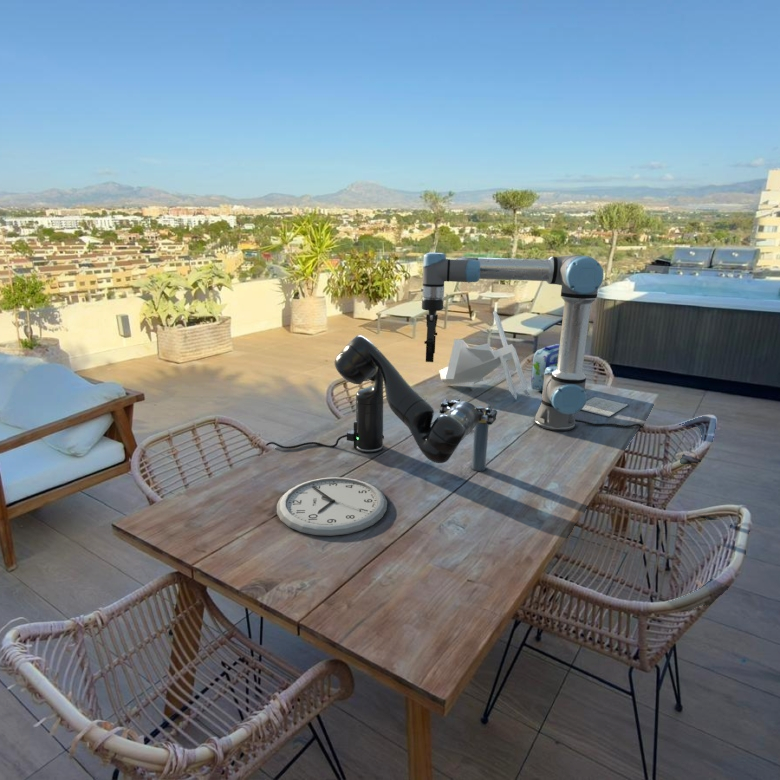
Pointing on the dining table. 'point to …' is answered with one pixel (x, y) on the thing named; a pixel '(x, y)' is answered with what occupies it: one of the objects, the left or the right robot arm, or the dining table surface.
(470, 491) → the dining table surface
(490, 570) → the dining table surface
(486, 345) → the white plastic object
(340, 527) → the wall clock
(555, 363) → the lunch box
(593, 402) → the invitation card
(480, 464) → the clear plastic cylinder
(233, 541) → the dining table surface
